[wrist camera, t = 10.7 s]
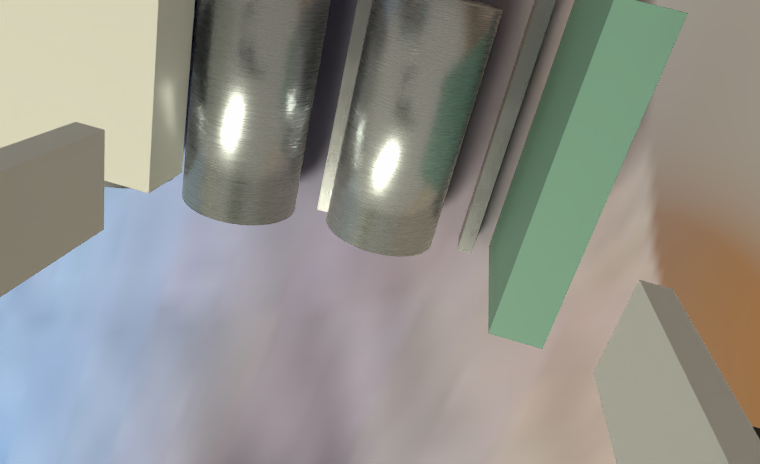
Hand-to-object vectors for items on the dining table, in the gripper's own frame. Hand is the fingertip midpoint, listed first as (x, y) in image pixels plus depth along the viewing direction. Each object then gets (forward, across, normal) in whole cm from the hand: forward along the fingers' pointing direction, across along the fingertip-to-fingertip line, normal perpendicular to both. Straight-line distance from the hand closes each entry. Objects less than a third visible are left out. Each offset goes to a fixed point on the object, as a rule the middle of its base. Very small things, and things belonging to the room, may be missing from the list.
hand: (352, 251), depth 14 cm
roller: (+19, -1, -1) cm, 19 cm away
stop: (+18, +7, 0) cm, 20 cm away
